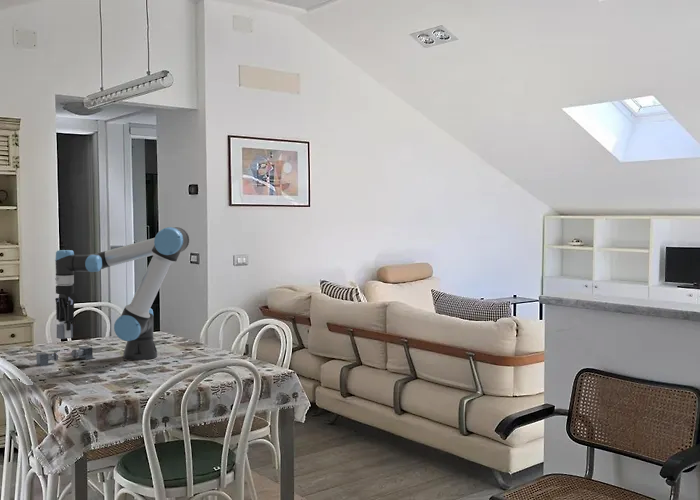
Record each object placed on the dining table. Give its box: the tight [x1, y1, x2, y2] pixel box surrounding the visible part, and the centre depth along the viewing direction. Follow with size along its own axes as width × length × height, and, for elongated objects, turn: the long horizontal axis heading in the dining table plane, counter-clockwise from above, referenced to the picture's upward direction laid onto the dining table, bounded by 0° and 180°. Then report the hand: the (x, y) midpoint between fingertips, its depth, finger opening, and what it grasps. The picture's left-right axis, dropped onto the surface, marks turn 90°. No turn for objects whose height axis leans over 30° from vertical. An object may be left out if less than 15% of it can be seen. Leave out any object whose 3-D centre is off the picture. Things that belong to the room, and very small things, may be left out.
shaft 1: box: [35, 351, 59, 367], centre depth 316 cm, size 8×5×5 cm, turn 130°
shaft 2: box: [71, 346, 94, 360], centre depth 328 cm, size 8×5×5 cm, turn 146°
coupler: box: [56, 323, 74, 340], centre depth 321 cm, size 6×4×6 cm
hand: (65, 336), depth 321 cm, fingers closed on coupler, 4 cm apart
